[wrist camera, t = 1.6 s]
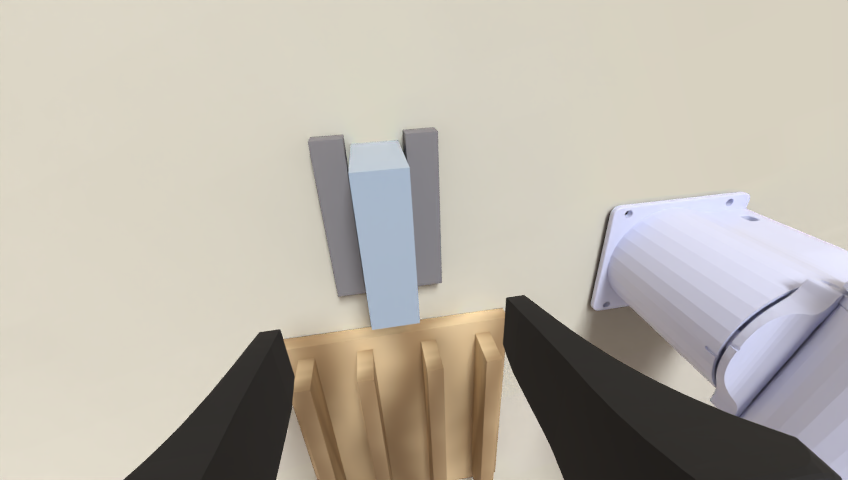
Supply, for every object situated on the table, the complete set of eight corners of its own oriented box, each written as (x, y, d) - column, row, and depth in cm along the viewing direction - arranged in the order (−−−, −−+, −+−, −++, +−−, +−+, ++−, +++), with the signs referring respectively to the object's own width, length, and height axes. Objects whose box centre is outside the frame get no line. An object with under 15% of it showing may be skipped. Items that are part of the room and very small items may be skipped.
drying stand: (434, 127, 18) (437, 131, 18) (438, 273, 23) (441, 282, 22) (310, 137, 18) (307, 142, 17) (339, 286, 22) (338, 296, 21)
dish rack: (502, 308, 25) (522, 344, 22) (491, 461, 33) (504, 502, 30) (278, 339, 23) (266, 384, 20) (326, 493, 32) (323, 540, 29)
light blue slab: (397, 139, 19) (409, 167, 14) (408, 269, 22) (420, 323, 18) (350, 143, 18) (348, 173, 14) (369, 274, 22) (371, 329, 18)
